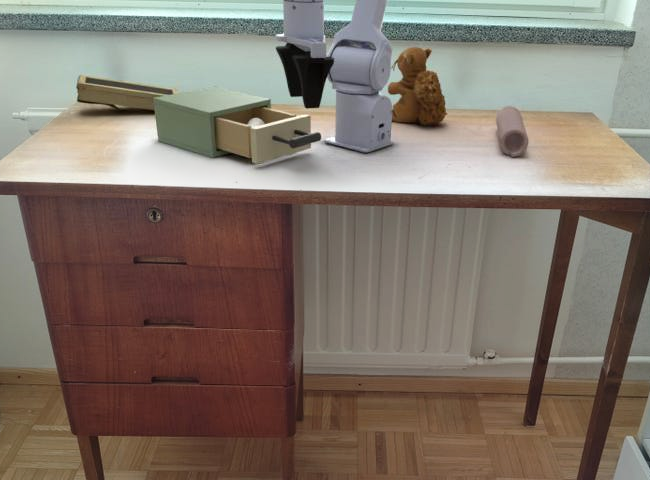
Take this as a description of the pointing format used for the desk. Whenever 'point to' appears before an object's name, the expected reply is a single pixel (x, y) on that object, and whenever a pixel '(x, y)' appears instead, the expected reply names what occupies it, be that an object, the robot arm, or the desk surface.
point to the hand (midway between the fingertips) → (304, 101)
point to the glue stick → (255, 122)
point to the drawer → (264, 133)
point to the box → (119, 92)
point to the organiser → (199, 116)
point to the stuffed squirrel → (417, 90)
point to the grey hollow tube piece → (511, 131)
